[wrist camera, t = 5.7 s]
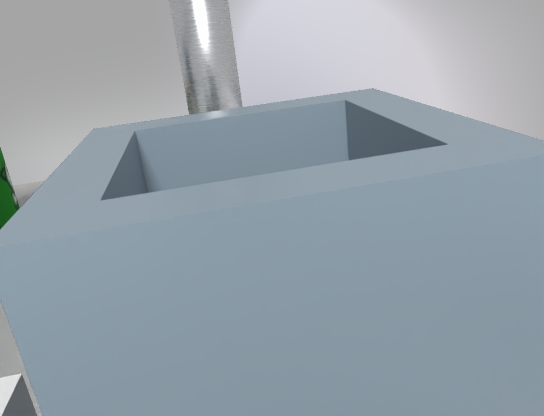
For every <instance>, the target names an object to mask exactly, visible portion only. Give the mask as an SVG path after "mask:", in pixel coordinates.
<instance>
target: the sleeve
mask: <svg viewBox="0 0 544 416" xmlns="http://www.w3.org/2000/svg"><path fill="white" fill-rule="evenodd" d="M0 300H1V303H2V305H3V308H4V311H5V314H6V316H7V319H8V322H9V325H10V328H11V330H12V333H13V336H14V339H15V341H16V344H17V347H18V350H19V352H20V355H21V358H22V361H23V363H24V366H25V369H26V372H27V374H28V377H29V380H30V383H31V386H32V388H33V391H34V394H35V397H36V399H37V402H38V405H39V408H40V410H41V413H42V416H544V141H543V140H540V139H537V138H533V137H530V136H527V135H523V134H520V133H517V132H514V131H510V130H507V129H504V128H500V127H497V126H494V125H490V124H487V123H484V122H481V121H477V120H474V119H471V118H468V117H464V116H461V115H458V114H455V113H452V112H448V111H445V110H442V109H438V108H435V107H432V106H428V105H425V104H422V103H419V102H415V101H412V100H409V99H406V98H403V97H399V96H396V95H393V94H389V93H386V92H383V91H380V90H376V89H373V88H372V89H365V90H358V91H351V92H344V93H337V94H330V95H324V96H317V97H310V98H303V99H296V100H289V101H283V102H276V103H269V104H261V105H254V106H248V107H241V108H234V109H227V110H220V111H213V112H206V113H199V114H192V115H185V116H179V117H172V118H165V119H158V120H151V121H144V122H137V123H130V124H124V125H117V126H109V127H103V128H96V129H93V130H92V131H91V132H90V133H89V134H88V135H87V136H86V137H85V138H84V140H83V141H82V142H81V143H80V144H79V145H78V146H77V147H76V148H75V149H74V150H73V151H72V153H71V154H70V155H69V156H68V157H67V158H66V159H65V160H64V161H63V162H62V163H61V164H60V166H59V167H58V168H57V169H56V170H55V171H54V172H53V173H52V174H51V175H50V176H49V177H48V179H47V180H46V181H45V182H44V183H43V184H42V185H41V186H40V187H39V188H38V189H37V190H36V192H35V193H34V194H33V195H32V196H31V197H30V198H29V199H28V200H27V201H26V202H25V203H24V205H23V206H22V207H21V208H20V209H19V210H18V211H17V212H16V213H15V214H14V215H13V216H12V218H11V219H10V220H9V221H8V222H7V223H6V224H5V225H4V226H3V227H2V228H1V229H0Z"/></svg>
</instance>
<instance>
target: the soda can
mask: <svg viewBox="0 0 544 416" xmlns="http://www.w3.org/2000/svg"><path fill="white" fill-rule="evenodd" d="M19 209H20V207H19V204H18V201H17V198H16V195H15V192H14V189H13V186H12V182H11V179H10V176H9V173H8V170H7V167H6V164H5V161H4V157H3V154H2V151H1V148H0V229H1V228H2V227H3V226H4V225H5V224H6V223H7V222H8V221H9V220H10V219H11V218H12V216H13V215H14V214H15V213H16V212H17V211H18V210H19Z"/></svg>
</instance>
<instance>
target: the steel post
mask: <svg viewBox="0 0 544 416" xmlns="http://www.w3.org/2000/svg"><path fill="white" fill-rule="evenodd" d="M169 2H170V8H171V14H172V19H173V25H174V31H175V36H176V41H177V48H178V54H179V59H180V65H181V71H182V76H183V81H184V87H185V93H186V99H187V105H188V110H189V115H192V114H199V113H206V112H213V111H220V110H227V109H234V108H241V107H242V100H241V93H240V85H239V78H238V71H237V64H236V56H235V49H234V42H233V34H232V27H231V20H230V13H229V5H228V0H169Z"/></svg>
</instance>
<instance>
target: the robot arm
mask: <svg viewBox="0 0 544 416" xmlns="http://www.w3.org/2000/svg"><path fill="white" fill-rule="evenodd" d="M0 416H37V414H36V411H35V409H34V406H33V403H32V400H31V398H30V395H29V392H28V390H27V387H26V384H25V381H24V379H23V376H22V374H17V375H12V376H7V377H2V378H0Z"/></svg>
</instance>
